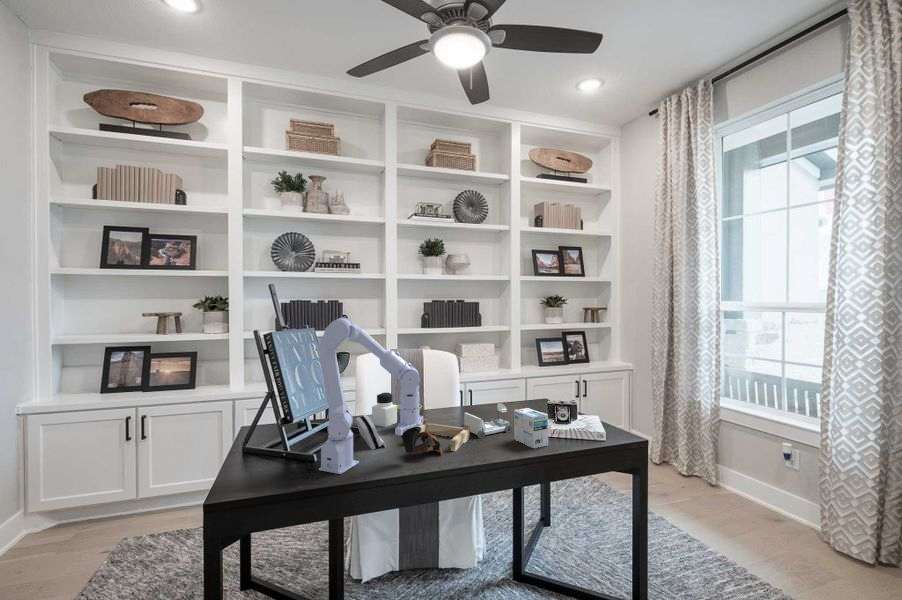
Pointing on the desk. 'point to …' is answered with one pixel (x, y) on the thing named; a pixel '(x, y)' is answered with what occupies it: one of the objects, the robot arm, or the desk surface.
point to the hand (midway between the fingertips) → (409, 451)
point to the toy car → (487, 423)
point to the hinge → (369, 432)
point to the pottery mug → (427, 443)
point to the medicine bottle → (384, 410)
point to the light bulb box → (531, 427)
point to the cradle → (448, 432)
